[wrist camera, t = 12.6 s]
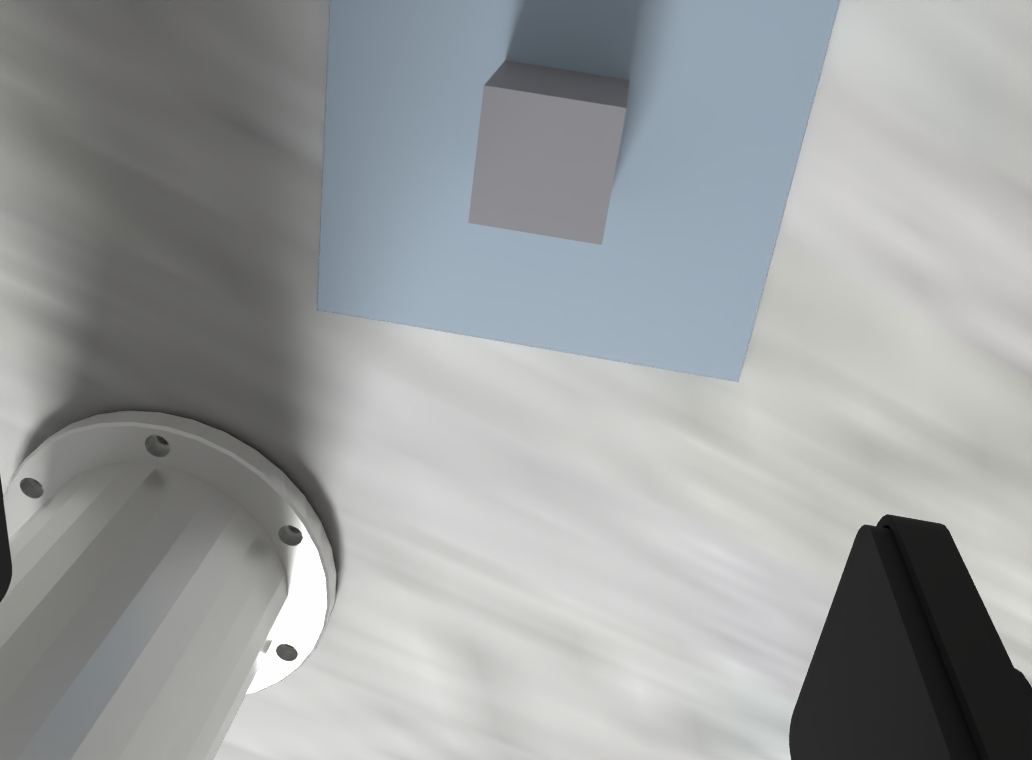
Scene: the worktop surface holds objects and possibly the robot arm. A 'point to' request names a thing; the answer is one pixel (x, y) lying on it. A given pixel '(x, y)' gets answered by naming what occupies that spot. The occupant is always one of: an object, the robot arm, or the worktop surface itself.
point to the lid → (565, 168)
